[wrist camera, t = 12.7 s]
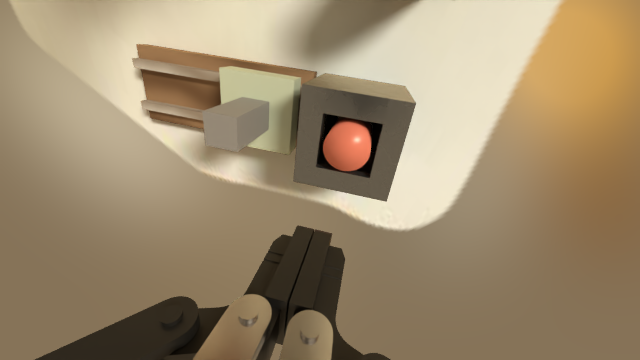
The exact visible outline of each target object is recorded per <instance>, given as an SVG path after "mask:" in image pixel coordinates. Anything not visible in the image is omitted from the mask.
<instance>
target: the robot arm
mask: <svg viewBox="0 0 640 360" xmlns="http://www.w3.org/2000/svg"><path fill="white" fill-rule="evenodd" d="M331 237H332V233H328V232H324V231H320V230H315V232H314V229H311V228H307V227H302V226H297V227H296V230H295V232H294V234H293V236H292V237H291V236H287V235H281V236H280V237H279V238H277V239H276V240H275V241H274V242H273V243H272V245H271V247H270V249H269V251H268V253H267V254H266V256H265V258H264V261H263V262H262V264H261V265H260V267H259V269H258V271H257V273H256V274H255V276H254V278H253V280H252V282H251V284H250V285H249V287H248V289H247V291H246V293H245V294H244V295H243V296H241V297H239V298H237V299H236V300H235V301H233V302H232V303H231V304H230V305H228V306H225V307H219V308H199V309H198V307H197V304H196V303H195V301H193V300H192V299H191V298H188V297H182V296H179V297H173V298H170V299H167V300H165V301H162V302H160V303H158V304H156V305H154V306H152V307H149V308H147V309H145V310H143V311H141V312H138V313H136V314H134V315H132V316H130V317H127V318H125V319H123V320H121V321H119V322H116V323H114V324H112V325H110V326H108V327H105V328H104V329H101V330H99V331H97V332H94V333H92V334H90V335H88V336H86V337H83V338H81V339H79V340H77V341H75V342H73V343H70V344H68V345H66V346H64V347H61V348H59V349H57V350H55V351H53V352H51V353H48V354H46V355H44V356H42V357H40V358H38V359H35V360H270V358H271V355H272V352H273V349H274V346H275V344H276V343H278V344H281V345H283V346H282V350H281V354H280V359H279V360H390V359H389V358H387V357H385V356H384V355H381V354H378V353H369V354H366V355H363V354H361V353H360V352H358V351H357V350H356V349H354V348H353V347H351V346H350V345H349V344H347V343H346V342H345V341H344V340H343V338H342V337H341V336H340V334H339V332H338V330H337V327H336V322H335V317H336V310H337V304H338V298H339V292H340V286H341V280H342V274H343V268H344V262H345V257H344V255H343V252H342V249H341V248H337V247H333V246H330V242H331Z"/></svg>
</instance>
